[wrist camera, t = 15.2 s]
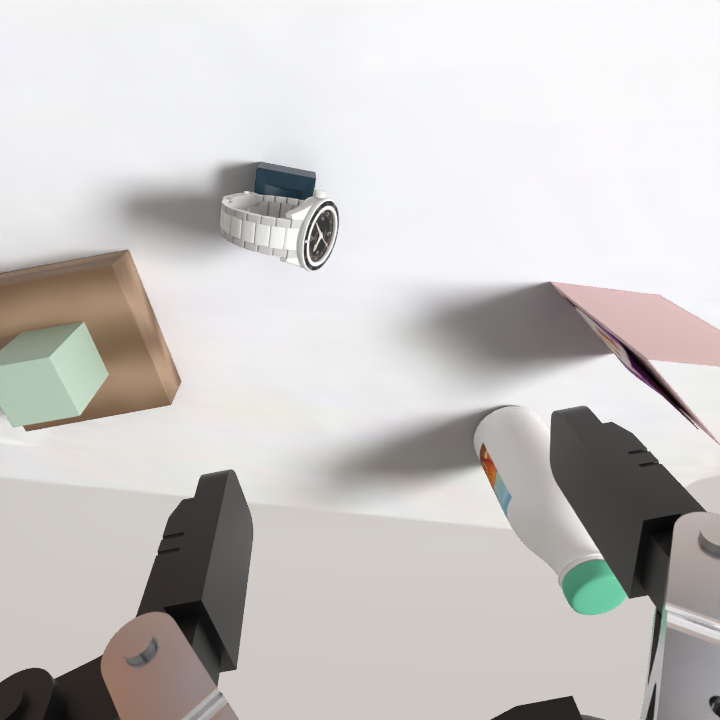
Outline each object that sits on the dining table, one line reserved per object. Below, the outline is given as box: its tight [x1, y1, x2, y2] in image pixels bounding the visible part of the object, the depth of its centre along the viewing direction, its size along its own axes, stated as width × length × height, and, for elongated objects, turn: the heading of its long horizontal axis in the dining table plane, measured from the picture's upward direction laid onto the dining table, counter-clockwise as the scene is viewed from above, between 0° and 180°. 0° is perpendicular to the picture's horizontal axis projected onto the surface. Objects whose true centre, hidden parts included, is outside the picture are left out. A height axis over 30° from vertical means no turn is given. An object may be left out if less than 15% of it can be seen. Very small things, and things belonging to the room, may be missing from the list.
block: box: [0, 322, 109, 427], centre depth 38 cm, size 5×5×6 cm
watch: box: [220, 162, 339, 272], centre depth 35 cm, size 6×8×11 cm
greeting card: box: [550, 282, 720, 445], centre depth 40 cm, size 11×7×15 cm, turn 47°
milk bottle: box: [473, 406, 627, 615], centre depth 45 cm, size 8×8×20 cm
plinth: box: [0, 250, 181, 431], centre depth 42 cm, size 13×13×4 cm
